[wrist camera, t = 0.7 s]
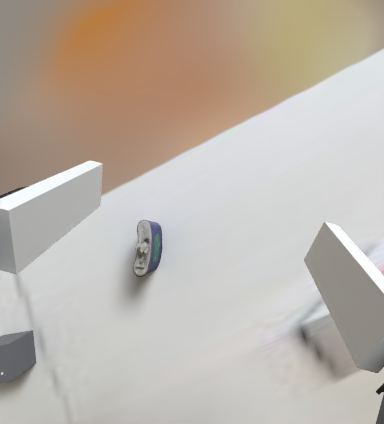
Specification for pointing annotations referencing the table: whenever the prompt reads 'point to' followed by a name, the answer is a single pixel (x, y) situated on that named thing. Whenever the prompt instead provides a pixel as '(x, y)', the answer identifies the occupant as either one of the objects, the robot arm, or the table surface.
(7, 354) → the die
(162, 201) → the table surface
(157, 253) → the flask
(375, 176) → the table surface
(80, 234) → the table surface
